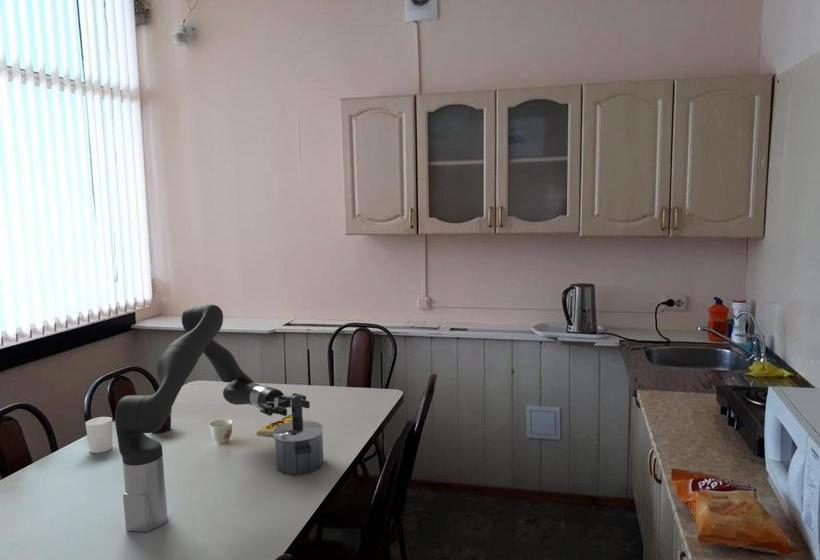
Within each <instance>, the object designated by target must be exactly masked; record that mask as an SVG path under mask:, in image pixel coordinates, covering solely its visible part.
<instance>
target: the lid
mask: <svg viewBox="0 0 820 560" xmlns="http://www.w3.org/2000/svg"><path fill="white" fill-rule="evenodd" d="M302 395H303V394H300V395H290V396H291V406H292V408H291V414H292V422H288V423H284V424H281V425H279V426H277V427H276V428H275V429H274V430H273V439H274V441H275V440H276V441H278V442H281V443H289V444H295V443H304V442H308V441H312V440H314V439H317V438H318V437H320V436H321V435H322V436H323V429H324V427H323V425H322V424H321V423H319V422H316V421H314V420H303V415H304V414H303V407H302Z"/></svg>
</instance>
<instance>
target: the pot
mask: <svg viewBox="0 0 820 560" xmlns="http://www.w3.org/2000/svg"><path fill="white" fill-rule="evenodd" d="M323 439H324V438H323V434H322V435H321V436H320V437H318V438H317V439H314V440H312V441H308V442H304V443H295V444H289V443H281V442H278V441H276V440H275V439H274V443H275V461H276V462H275V463H276V464H275V465H276V468H277V472H279V473H281V474H283V475H286V474H287V476H301V475H307V474H311V473H313V472H317V471H318V470H320V469H322V467H323V465H324V462H325V461H324V444H323V443H324V442H323Z"/></svg>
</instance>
